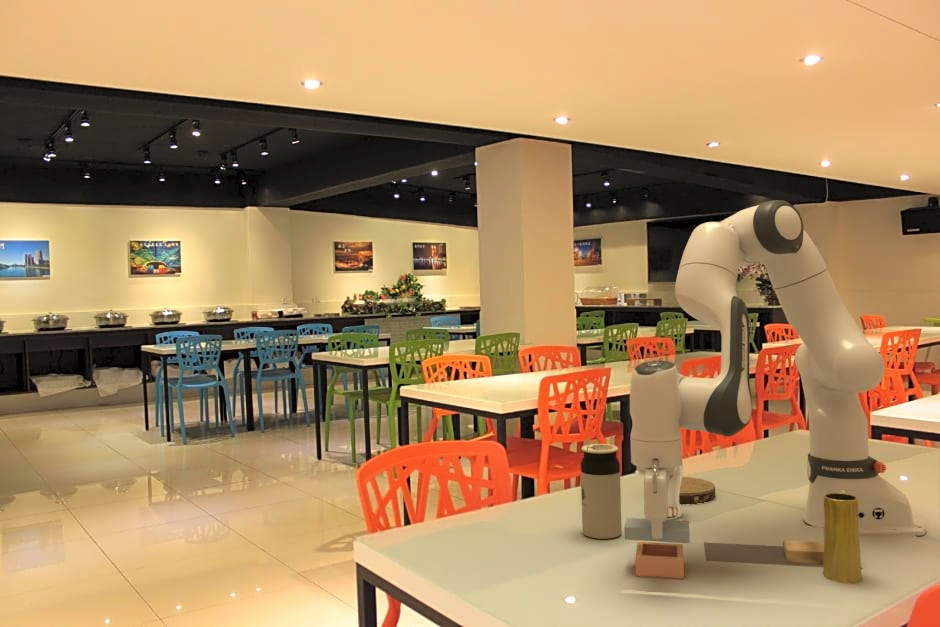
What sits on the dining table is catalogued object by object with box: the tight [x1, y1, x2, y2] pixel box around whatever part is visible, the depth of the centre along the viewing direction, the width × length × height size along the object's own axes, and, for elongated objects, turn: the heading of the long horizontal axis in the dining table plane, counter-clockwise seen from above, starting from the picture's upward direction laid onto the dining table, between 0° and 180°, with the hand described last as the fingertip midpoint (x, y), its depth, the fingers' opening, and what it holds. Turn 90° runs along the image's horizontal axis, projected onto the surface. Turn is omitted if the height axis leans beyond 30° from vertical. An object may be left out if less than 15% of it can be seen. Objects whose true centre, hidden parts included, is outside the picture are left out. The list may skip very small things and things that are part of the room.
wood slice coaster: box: [679, 476, 716, 506], centre depth 185 cm, size 16×16×3 cm
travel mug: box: [580, 443, 623, 540], centre depth 158 cm, size 8×8×18 cm
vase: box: [822, 493, 863, 584], centre depth 130 cm, size 6×6×14 cm
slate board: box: [623, 517, 691, 544], centre depth 136 cm, size 11×6×2 cm, turn 75°
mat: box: [703, 541, 863, 570], centre depth 141 cm, size 26×10×1 cm, turn 75°
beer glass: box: [666, 463, 684, 520], centre depth 169 cm, size 7×7×15 cm
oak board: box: [782, 540, 824, 564], centre depth 138 cm, size 11×6×2 cm, turn 75°
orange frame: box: [635, 541, 685, 580], centre depth 135 cm, size 8×8×4 cm
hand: (657, 531), depth 136 cm, fingers closed on slate board, 5 cm apart
